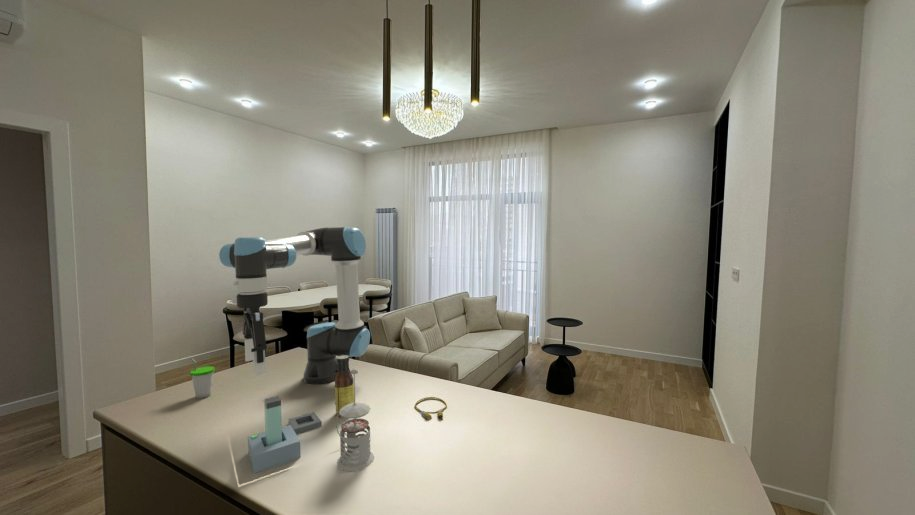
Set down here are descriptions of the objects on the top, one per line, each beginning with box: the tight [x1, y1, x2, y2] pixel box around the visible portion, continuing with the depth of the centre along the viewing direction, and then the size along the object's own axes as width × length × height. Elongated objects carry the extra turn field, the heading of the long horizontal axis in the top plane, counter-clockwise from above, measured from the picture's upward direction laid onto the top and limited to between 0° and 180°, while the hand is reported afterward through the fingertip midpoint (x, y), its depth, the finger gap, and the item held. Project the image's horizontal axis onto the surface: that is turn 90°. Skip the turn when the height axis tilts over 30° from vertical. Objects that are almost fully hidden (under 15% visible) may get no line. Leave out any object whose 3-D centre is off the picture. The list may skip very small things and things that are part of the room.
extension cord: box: [414, 396, 448, 420], centre depth 127 cm, size 12×16×2 cm
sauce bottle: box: [334, 355, 354, 418], centre depth 122 cm, size 7×6×20 cm
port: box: [247, 424, 301, 474], centre depth 99 cm, size 11×11×5 cm
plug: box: [263, 395, 283, 446], centre depth 98 cm, size 4×4×16 cm
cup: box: [189, 357, 216, 400], centre depth 137 cm, size 8×8×15 cm
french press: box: [335, 368, 375, 472], centre depth 97 cm, size 10×12×25 cm
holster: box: [287, 411, 322, 435], centre depth 115 cm, size 8×8×2 cm
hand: (255, 366), depth 102 cm, fingers open, 13 cm apart
